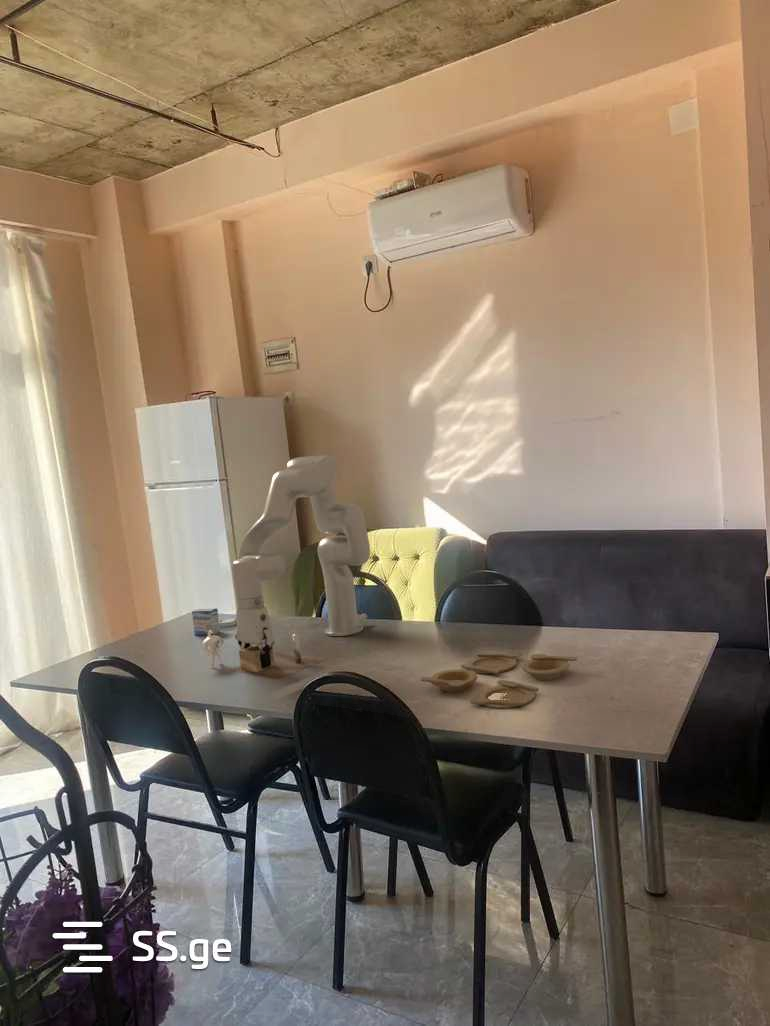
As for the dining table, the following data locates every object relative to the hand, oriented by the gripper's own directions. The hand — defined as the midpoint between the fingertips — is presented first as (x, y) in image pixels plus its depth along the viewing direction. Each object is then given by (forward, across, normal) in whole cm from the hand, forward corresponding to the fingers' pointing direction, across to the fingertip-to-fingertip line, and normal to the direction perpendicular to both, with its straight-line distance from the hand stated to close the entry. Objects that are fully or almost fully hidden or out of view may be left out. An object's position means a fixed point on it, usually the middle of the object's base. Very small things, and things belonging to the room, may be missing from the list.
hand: (257, 664), depth 211 cm
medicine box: (+3, +54, -23) cm, 59 cm away
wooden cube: (+1, 0, 0) cm, 1 cm away
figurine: (+3, +14, +4) cm, 15 cm away
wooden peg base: (+2, -4, -4) cm, 6 cm away
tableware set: (+3, -66, -20) cm, 69 cm away
